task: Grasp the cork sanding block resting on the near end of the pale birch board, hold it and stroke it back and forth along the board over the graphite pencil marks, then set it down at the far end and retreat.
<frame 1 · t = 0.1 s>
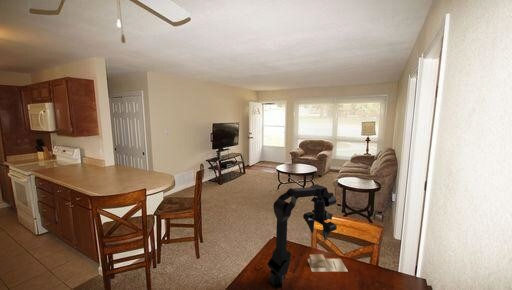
hand: (318, 236, 117), 14 cm above the table, fingers open, 9 cm apart
sanding block: (317, 264, 114), point 1 cm above the table, touching board
board: (326, 266, 114), on the table
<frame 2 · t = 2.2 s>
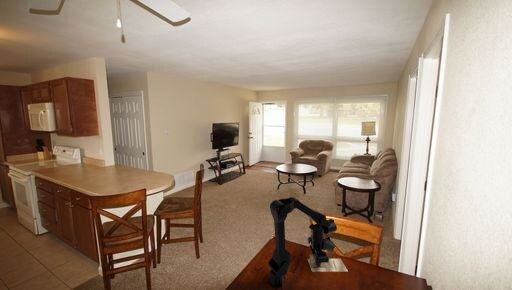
hand: (317, 263, 114), 2 cm above the table, fingers closed on sanding block, 4 cm apart
sanding block: (317, 264, 114), point 1 cm above the table, touching board, gripper
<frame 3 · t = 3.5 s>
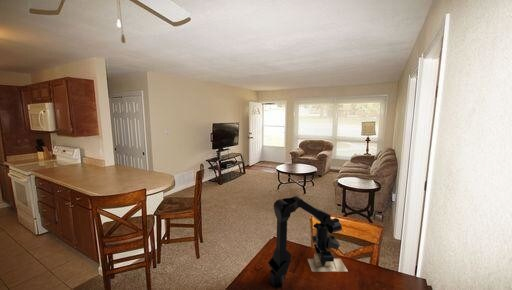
hand: (321, 262, 114), 2 cm above the table, fingers closed on sanding block, 4 cm apart
sanding block: (321, 264, 114), point 2 cm above the table, touching gripper
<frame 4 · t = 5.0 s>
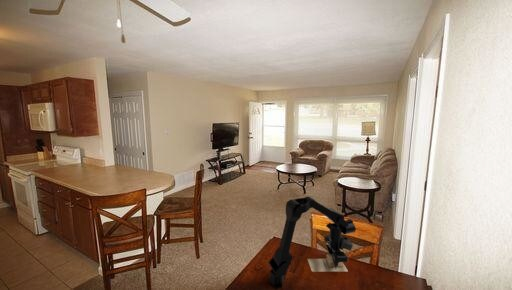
hand: (334, 263, 114), 2 cm above the table, fingers closed on sanding block, 4 cm apart
sanding block: (334, 264, 114), point 1 cm above the table, touching gripper
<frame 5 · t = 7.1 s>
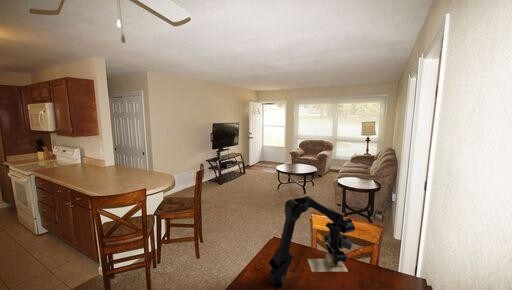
hand: (334, 262, 114), 2 cm above the table, fingers closed on sanding block, 4 cm apart
sanding block: (334, 263, 114), point 2 cm above the table, touching gripper
when the fingers open (2 cm above the table, at t = 8.3 s): sanding block stays where it is, resting on board.
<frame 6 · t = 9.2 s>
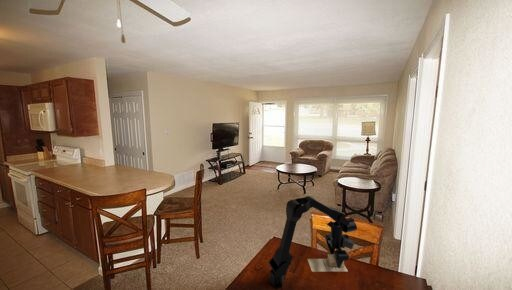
hand: (335, 261, 113), 3 cm above the table, fingers open, 9 cm apart
sanding block: (335, 264, 114), point 1 cm above the table, touching board
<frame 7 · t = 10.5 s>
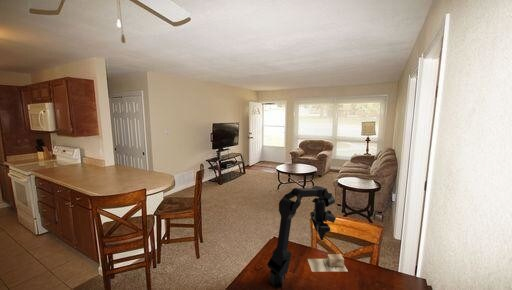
hand: (319, 235, 122), 12 cm above the table, fingers open, 9 cm apart
nothing on the table moved.
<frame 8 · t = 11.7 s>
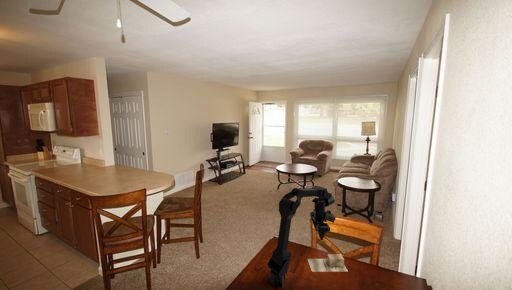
hand: (319, 235, 122), 12 cm above the table, fingers open, 9 cm apart
nothing on the table moved.
at the end: sanding block 4.5 cm from the board (horizontally); sanding block moved 9.5 cm from its start; sanding block tilted 0° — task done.
